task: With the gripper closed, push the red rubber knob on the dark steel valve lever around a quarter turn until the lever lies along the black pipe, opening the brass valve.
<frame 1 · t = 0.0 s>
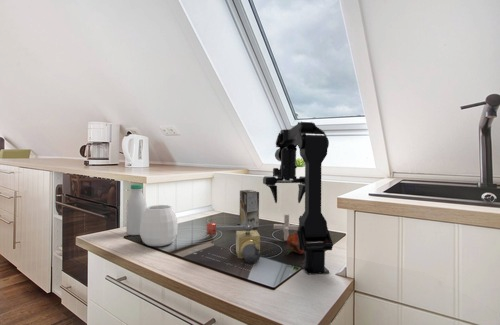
hand: (287, 202, 113), 15 cm above the table, tool pointing down, fingers open, 9 cm apart
white faceted vase: (159, 244, 107), on the table
pomegranate: (296, 254, 99), on the table
lever: (230, 228, 96), point 9 cm above the table, hinge at 0.0°
pipe connector: (286, 240, 114), on the table
milk bottle: (136, 233, 120), on the table
valve: (247, 254, 97), on the table
coffee box: (248, 225, 136), on the table
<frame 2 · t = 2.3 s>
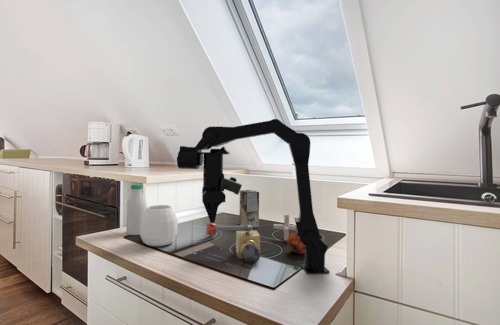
hand: (212, 221, 88), 13 cm above the table, tool pointing down, fingers open, 3 cm apart
nothing on the table moved.
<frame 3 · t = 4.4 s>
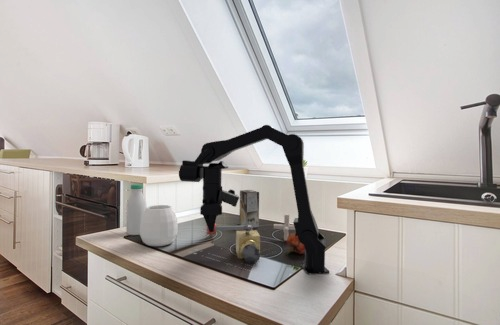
hand: (211, 231, 93), 9 cm above the table, tool pointing down, fingers closed
lever: (230, 228, 96), point 9 cm above the table, hinge at 0.9°, touching gripper
everything else where it was.
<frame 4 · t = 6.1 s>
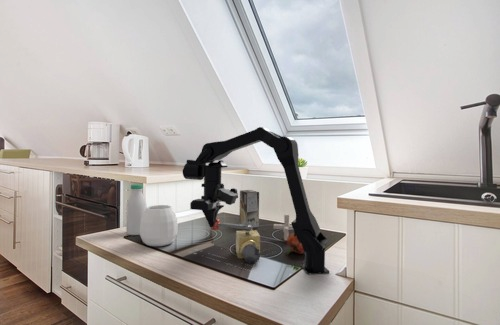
hand: (211, 226, 99), 9 cm above the table, tool pointing down, fingers closed
lever: (231, 225, 99), point 9 cm above the table, hinge at 28.8°, touching gripper
everything else where it was.
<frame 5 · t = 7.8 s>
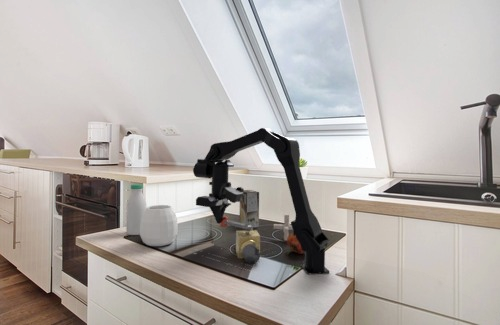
hand: (218, 223, 103), 9 cm above the table, tool pointing down, fingers closed
lever: (235, 224, 101), point 9 cm above the table, hinge at 52.9°, touching gripper
everything else where it was.
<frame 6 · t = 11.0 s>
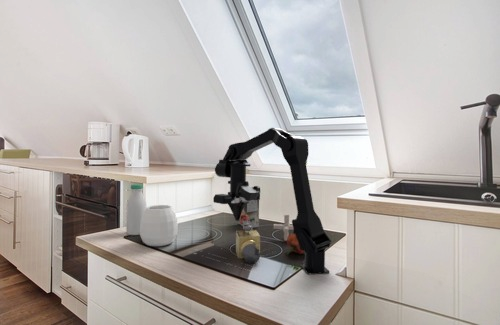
hand: (237, 220, 108), 9 cm above the table, tool pointing down, fingers closed
lever: (246, 223, 103), point 9 cm above the table, hinge at 92.6°, touching gripper
everything else where it was.
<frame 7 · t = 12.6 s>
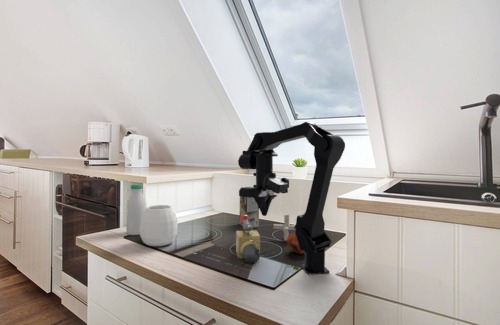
hand: (264, 215, 100), 12 cm above the table, tool pointing down, fingers closed
lever: (246, 223, 103), point 9 cm above the table, hinge at 92.7°
everything else where it was.
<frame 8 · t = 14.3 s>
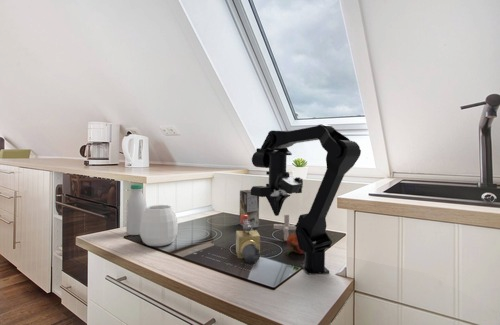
hand: (276, 215, 98), 13 cm above the table, tool pointing down, fingers closed
nothing on the table moved.
at the end: lever at +93° (first picture: +0°) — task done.
